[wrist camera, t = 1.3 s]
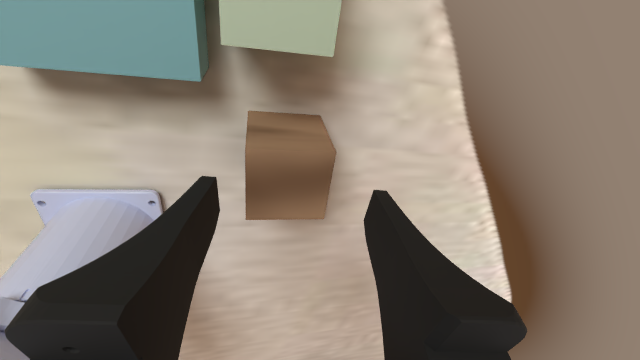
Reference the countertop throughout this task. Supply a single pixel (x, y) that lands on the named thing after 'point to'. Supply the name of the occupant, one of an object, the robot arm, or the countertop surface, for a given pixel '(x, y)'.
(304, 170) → the walnut block
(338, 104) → the countertop surface
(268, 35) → the sage block
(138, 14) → the teal base block
